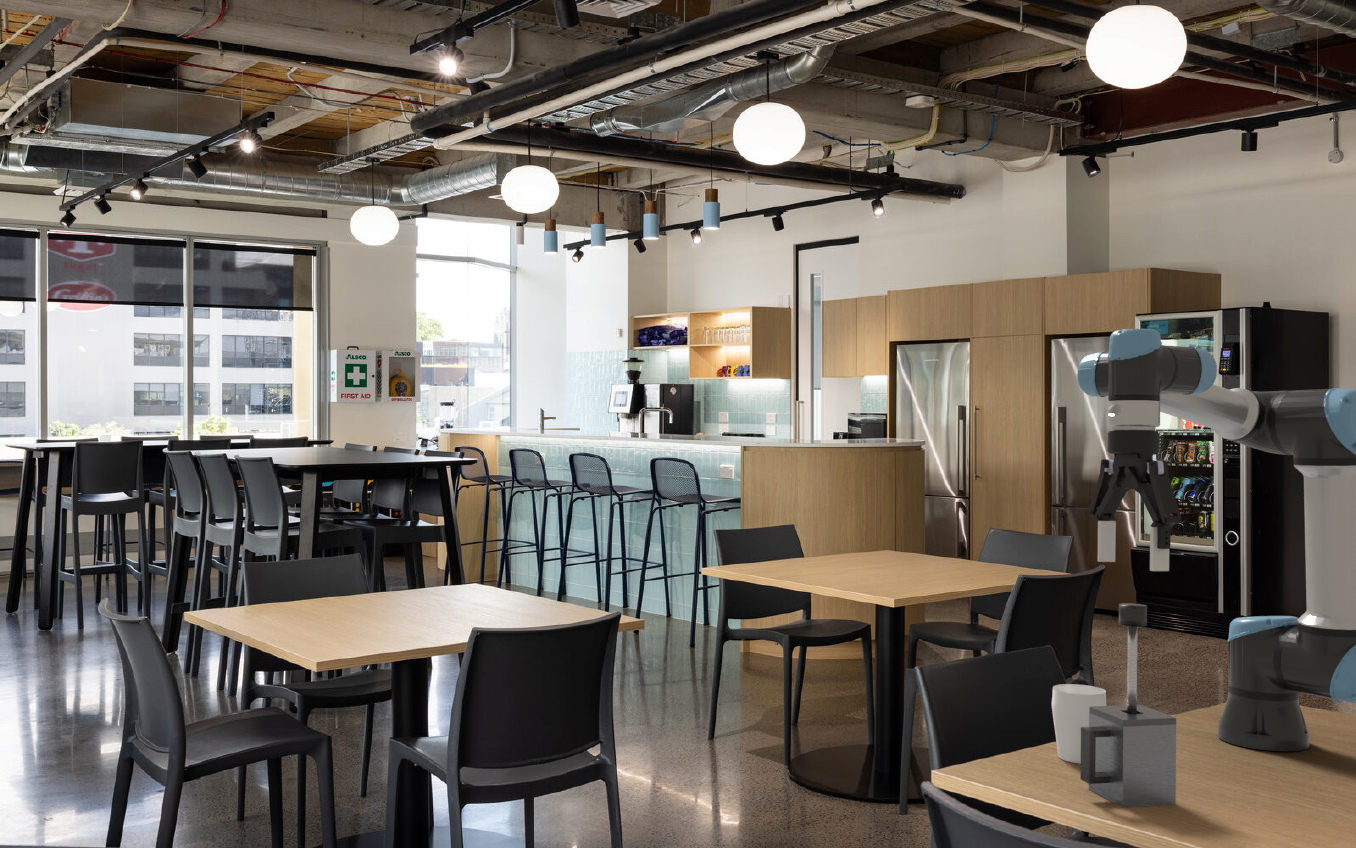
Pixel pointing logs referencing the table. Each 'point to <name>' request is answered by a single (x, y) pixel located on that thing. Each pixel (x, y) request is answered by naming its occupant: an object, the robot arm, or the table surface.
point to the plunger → (1132, 647)
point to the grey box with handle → (1130, 755)
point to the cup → (1073, 716)
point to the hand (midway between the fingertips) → (1131, 566)
